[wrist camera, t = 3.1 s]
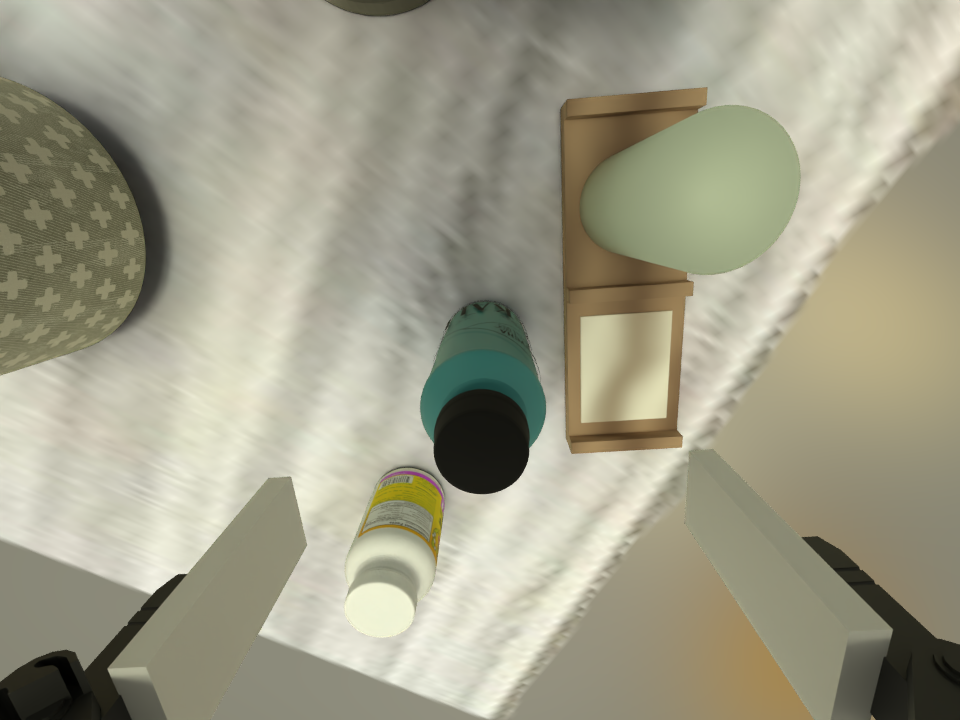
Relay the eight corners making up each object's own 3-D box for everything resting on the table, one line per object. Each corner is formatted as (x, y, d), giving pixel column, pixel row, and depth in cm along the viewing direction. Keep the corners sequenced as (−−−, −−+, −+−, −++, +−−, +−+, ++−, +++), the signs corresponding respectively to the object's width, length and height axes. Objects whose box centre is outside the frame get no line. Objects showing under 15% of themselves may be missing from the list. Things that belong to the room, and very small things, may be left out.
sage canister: (579, 257, 33) (635, 280, 21) (579, 155, 31) (640, 112, 19) (674, 250, 33) (788, 269, 20) (680, 146, 31) (811, 98, 18)
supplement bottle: (421, 537, 43) (395, 665, 31) (361, 503, 42) (309, 622, 29) (459, 487, 41) (448, 601, 29) (398, 451, 40) (359, 553, 28)
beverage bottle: (499, 385, 38) (512, 552, 19) (430, 347, 37) (371, 483, 18) (540, 320, 36) (600, 433, 17) (469, 278, 35) (449, 349, 16)
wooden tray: (566, 438, 39) (571, 453, 37) (560, 109, 32) (567, 99, 29) (669, 432, 39) (681, 447, 36) (689, 98, 31) (707, 87, 29)
